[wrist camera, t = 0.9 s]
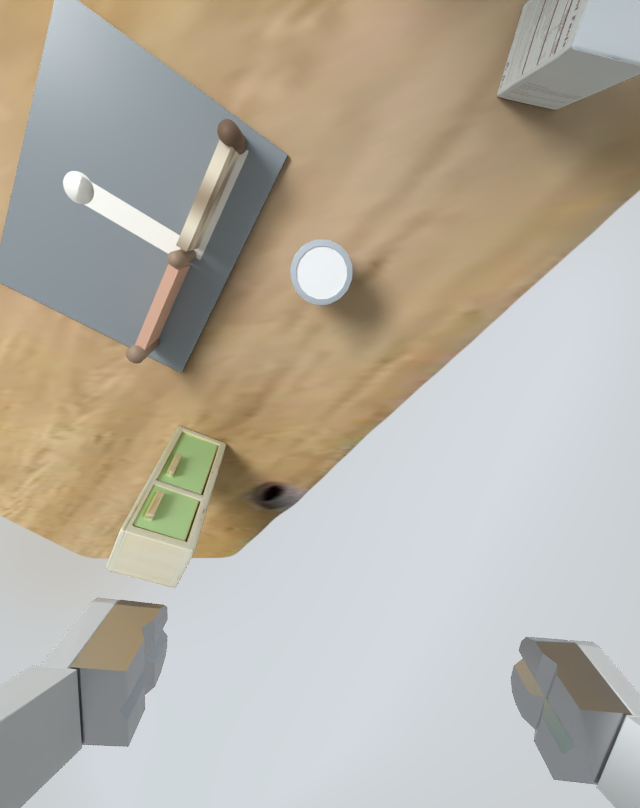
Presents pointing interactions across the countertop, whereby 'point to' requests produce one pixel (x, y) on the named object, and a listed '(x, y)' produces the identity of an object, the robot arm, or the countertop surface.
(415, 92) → the countertop surface
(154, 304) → the hinged fence panel
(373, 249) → the countertop surface
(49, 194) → the card
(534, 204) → the countertop surface
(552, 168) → the countertop surface
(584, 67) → the supplement box
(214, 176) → the fixed fence panel
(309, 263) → the white cup
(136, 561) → the toy refrigerator
